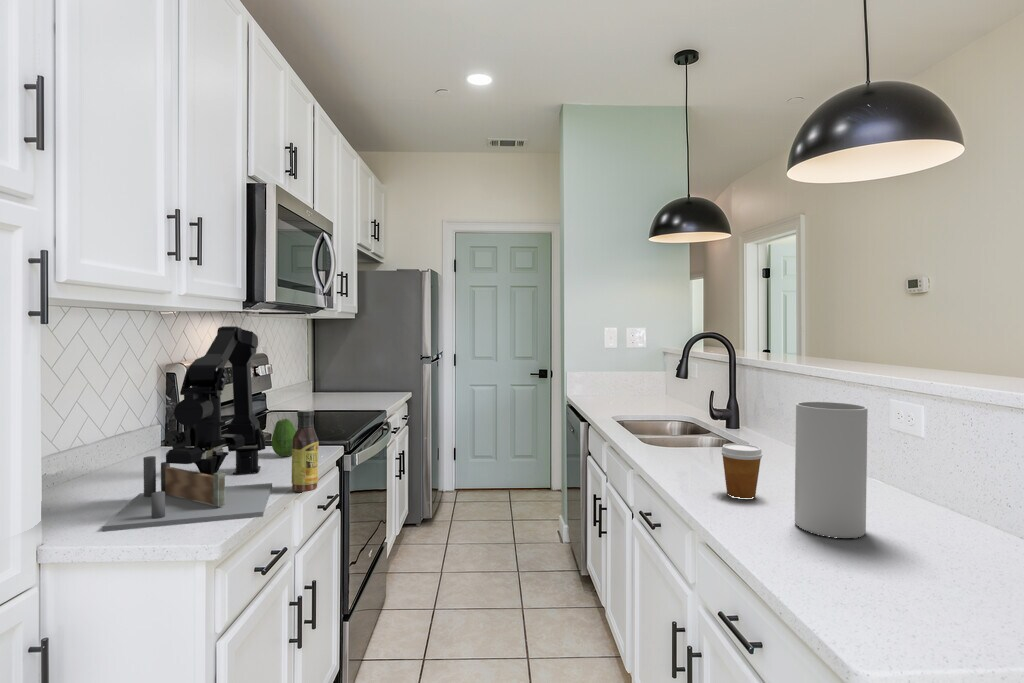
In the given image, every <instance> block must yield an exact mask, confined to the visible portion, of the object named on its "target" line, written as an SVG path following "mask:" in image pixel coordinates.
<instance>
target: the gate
mask: <svg viewBox="0 0 1024 683" xmlns="http://www.w3.org/2000/svg"><path fill="white" fill-rule="evenodd" d="M225 487H226V473H225V472H222V471H220V472H219V471H218V472H217V473H214V474H213V475H208V474H203V473H200V472H197V471H194V470H193V471H192V470H188V469H182V468H177V467H174V466H173V467H172V466H171V463H166V461H163V462H160V491H164V492H165V493H166V494H170V495H174V496H178V497H182V498H186V499H190V500H195V501H199V502H203V503H207V504H211V505H214V506H218V507H219V506H222V505H225Z"/></svg>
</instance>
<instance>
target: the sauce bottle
mask: <svg viewBox="0 0 1024 683" xmlns="http://www.w3.org/2000/svg"><path fill="white" fill-rule="evenodd" d="M296 412H297V413H296V415H297V430H296V433H295V435H294V436H293V448H292V455H291V485H292V486H291V490H292V491H293V492H295V493H296V492H298V493H305V492H311V491H315V490H316V489H317V488H318V482H319V448H320V447H319V446H320V445H319V442H320V441H319V438H318V436H317V433H316V430H315V424H314V421H315V420H314V417H315V410H314V409H298V410H297V411H296Z"/></svg>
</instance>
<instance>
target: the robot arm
mask: <svg viewBox="0 0 1024 683" xmlns="http://www.w3.org/2000/svg"><path fill="white" fill-rule="evenodd" d="M216 332H217V334H216V336H215V338H214V339H213V341H212V343H211V344H210V346H209V348H208V349H207V351H206V353H204V354H205V355H203V356H201V357H198V358H196V359H194V361H193V362H192V363H191V364H190V365H189V367H188V368H187V369H186V371H185V374H184V378H183V382H182V385H181V388H180V391H179V394H180V396H183V399H182V400H180V401H179V402H177V404H176V406H175V408H174V409H173V415H174V418H175V420H176V421H177V422H178V423H179V424H180V425H183V426H186V429H187V430H184V431H180V432H179V431H178V430H177V429H174V430H171V431H168V432H166V433H165V436H164V442H165V444H166V446H167V447H172V448H171V449H169V450H168V451H167V452H166V453H165V462H166V463H170V464H173V465H174V464H179V465H191V464H195V465H196V468H197V469H198V471H199V473H203V474H208V475H213V474H214V473H218V472H219V470H220V468H221V466H222V465H223V462H224V460H225V459H226V457H227V456H228V455H229V452H235V468H234V470H233V472H232V475H243V474H244V475H247V474H258V473H260V470H261V468H262V466H261V465H259V451H263V450H266V438H265V436H264V433H263V429H261V424H260V421H259V419H258V418H257V416H256V415H255V414H254V413H253V411H254V410H253V392H252V391H253V388H252V387H253V386H252V385H253V384H252V371H251V370H252V368H251V367H252V366H251V362H252V360H253V359H254V357H255V355H256V354H257V348H258V347H259V338H258V335H257V334H256V333H255V332H253V331H252V330H251V331H250V330H246V329H243V328H242V327H239V326H233V325H232V326H231V325H230V326H229V325H227V326H219V327H218V328H217V331H216ZM227 362H229V363H230V365H231V374H232V376H231V377H232V394H233V395H232V396H233V415H234V416H233V418H232V419H231V422H230V423H229V424H228V426H227V432H226V433H224V434H222V427H223V426H226V420H222V409H221V408H222V406H221V404H222V402H221V400H222V398H221V396H222V394H223V393H222V391H224V389H225V386H226V384H227V383H226V382H227V380H228V377H229V375H228V373H227V370H226V365H227ZM225 447H227V449H228V451H224V448H225Z"/></svg>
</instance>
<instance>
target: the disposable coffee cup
mask: <svg viewBox="0 0 1024 683" xmlns="http://www.w3.org/2000/svg"><path fill="white" fill-rule="evenodd" d="M720 453H721V455H722V464H723V470H724V479H725V480H724V481H725V487H726V495H727V494H729V495H731V496H734V497H740V498H752V497H755V498H756V493H757V487H758V480H759V472H760V466H761V459H762V457H763V455H764V453H763V451H762V448H761V447H760V446H757V445H753V444H747V443H724V444H723V445H722V447H721V449H720Z"/></svg>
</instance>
